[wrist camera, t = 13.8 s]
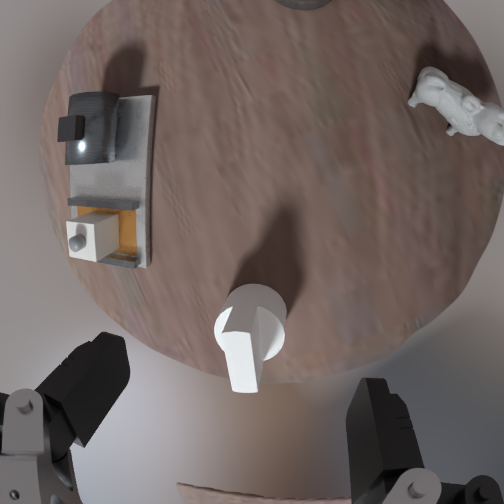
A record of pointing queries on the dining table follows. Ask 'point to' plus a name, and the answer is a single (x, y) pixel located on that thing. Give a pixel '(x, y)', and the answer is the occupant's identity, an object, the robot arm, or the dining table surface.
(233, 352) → the white appliance knob
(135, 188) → the motor mount
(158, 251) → the dining table surface
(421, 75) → the dog figurine
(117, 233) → the cube with round knob
